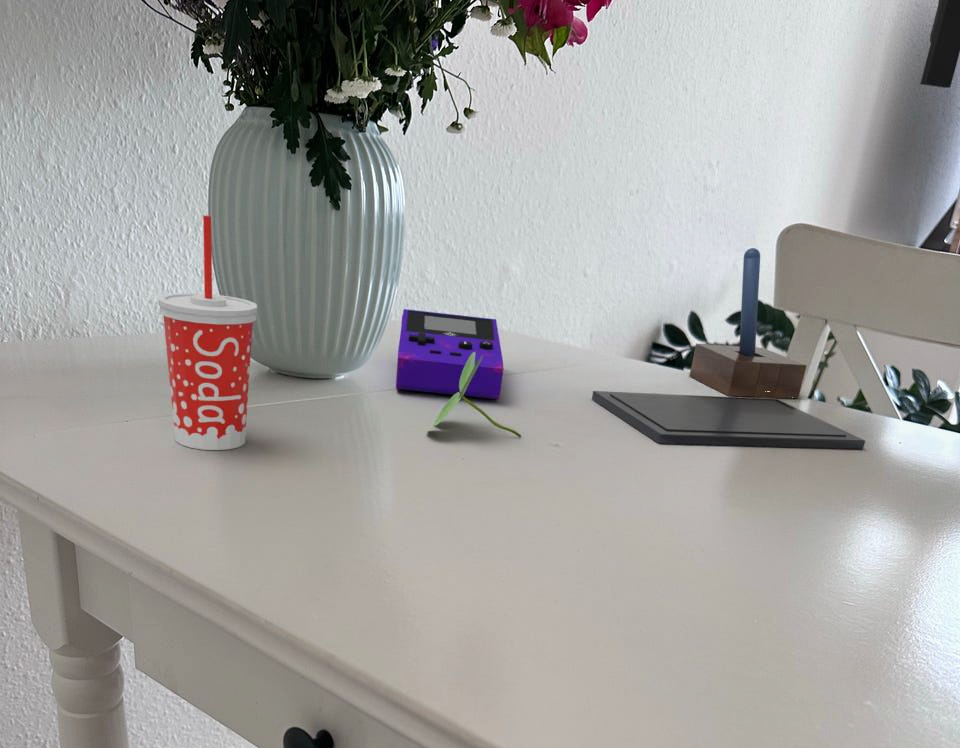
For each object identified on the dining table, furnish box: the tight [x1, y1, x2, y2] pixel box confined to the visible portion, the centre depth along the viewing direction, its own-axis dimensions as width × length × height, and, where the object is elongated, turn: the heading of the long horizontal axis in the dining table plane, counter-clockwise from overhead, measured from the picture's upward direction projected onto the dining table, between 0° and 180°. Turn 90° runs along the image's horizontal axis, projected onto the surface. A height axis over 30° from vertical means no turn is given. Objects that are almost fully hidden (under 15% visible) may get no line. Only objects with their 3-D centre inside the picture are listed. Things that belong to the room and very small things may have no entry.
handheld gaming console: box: [395, 308, 505, 400], centre depth 89 cm, size 9×5×15 cm
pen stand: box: [688, 343, 808, 399], centre depth 102 cm, size 8×8×4 cm
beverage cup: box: [157, 214, 258, 451], centre depth 62 cm, size 6×6×14 cm
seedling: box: [429, 352, 522, 439], centre depth 74 cm, size 7×8×7 cm
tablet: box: [591, 390, 866, 450], centre depth 86 cm, size 20×14×1 cm
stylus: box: [739, 247, 761, 357], centre depth 99 cm, size 2×2×14 cm
